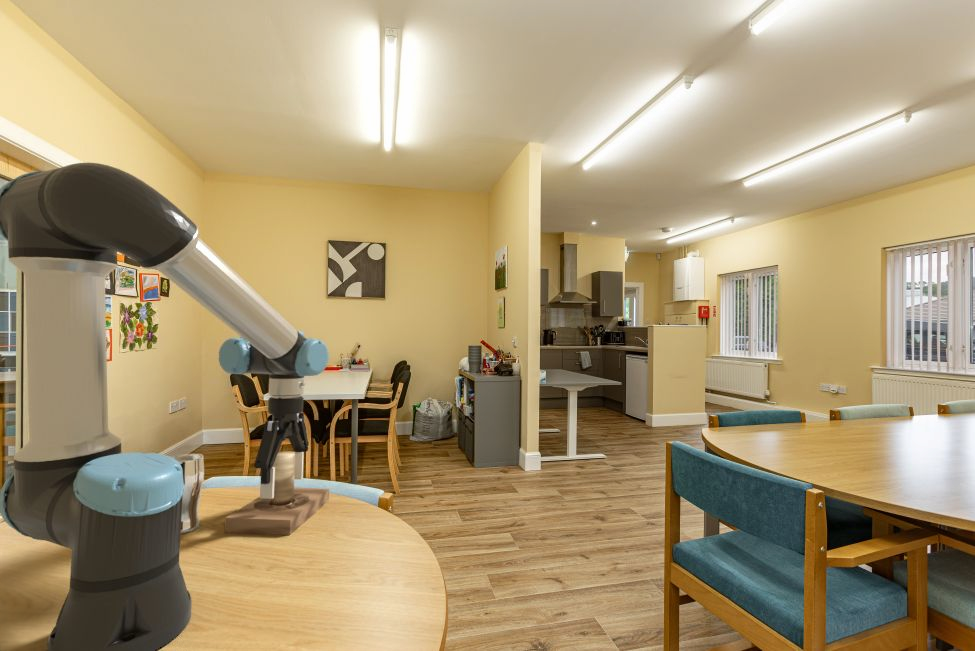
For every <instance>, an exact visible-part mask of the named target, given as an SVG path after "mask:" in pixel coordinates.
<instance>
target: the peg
mask: <svg viewBox="0 0 975 651" xmlns="http://www.w3.org/2000/svg"><path fill="white" fill-rule="evenodd" d="M295 452H296V451H294V450H293V451H291V450H286V451H285V450H284V451H283V450H282V451H279V452H278V454H277V457H276V459H275V462H274V464H273V467H275V482H274V498H272V499H271V501H272V506H286V505H289V504H292V499H293V498H294V488H295V479H294V471H295Z"/></svg>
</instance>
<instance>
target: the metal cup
mask: <svg viewBox="0 0 975 651" xmlns="http://www.w3.org/2000/svg"><path fill="white" fill-rule="evenodd" d="M171 457H172V458H174V459H175V460H177V461H178V462H179V463H180V465H181V467H182V470H183V483H184V492H183V499H182V516H181V535H182V534H185V533H190V532H192V531H194V530H196V529H198V528H200V519H199V505H200V499H201V495H202V490H203V486H204V480H205V478H204V477H205V464H204V463H205V461H204V454H202V453H186V454H179V455H178V454H177V455H174V456H171Z"/></svg>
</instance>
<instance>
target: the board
mask: <svg viewBox="0 0 975 651" xmlns="http://www.w3.org/2000/svg"><path fill="white" fill-rule="evenodd" d="M328 500H329V501H330V488H318V487H317V488H315V487H314V488H312V487H311V488H310V487H294V498H293V499H292V504H289V505H286V506H272V501H271V499H266V498H260V496H258V497H257V498H255V499H254V500H252V501H251V502H248V503H247V504H245V505H244V506H242V507H241V508H239V509H238V510H236V511H234V512H232V513H231V514H230V515H228V516H225V519H224V520H225V522H224V523H225V524H224V533H234V534H237V533H239V534H256V535H257V534H261V535H283V536H290V535H291V534H292V533H294V532H295V531H296V530H297V529H298V528H300V527H301V526H302V525H303V524H304V523H305V522H306V521H308V520H309V519H310V518H311V517H312V516H314V515H315V514H316V513H317V512H318V511H319V510H320V509H322V508H323V507H324V506H325V505H326V504H327V503H328V502H329V501H328ZM327 501H328V502H327ZM326 502H327V503H326ZM325 503H326V504H325ZM324 504H325V505H324ZM323 505H324V506H323ZM317 510H318V511H317ZM316 511H317V512H316ZM315 512H316V513H315Z"/></svg>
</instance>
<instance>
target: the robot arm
mask: <svg viewBox="0 0 975 651" xmlns="http://www.w3.org/2000/svg"><path fill="white" fill-rule="evenodd" d="M0 236H2V238H4V239H5V240H6V241H7V250H8V262H9V263H11V264H12V265H13V266H14V267H16V268H17V269H18V270H20V271H21V272H23V274H24V284H25V285H24V286H25V287H24V290H25V291H24V292H25V293H24V294H25V322H26V323H25V327H26V328H25V329H26V330H25V331H26V363H27V365H26V367H27V400H28V401H27V402H28V405H27V408H28V441H27V443H26V444H25V445H24V446H23V447H22V448H20V449H19V450H18V451H17V452H16V453H15V454H14V455H13V473H12V474H11V475H10V476H9V477H8V478H7V479H5V481H4V484H3V485H2V487H1V489H0V515H1V517H2V519H3V521H4V522H5V523H6V524H7V525H8V526H9V527H10V528H12V529H14V530H15V531H16V532H18V533H19V534H21V535H22V536H25V537H29V538H32V539H33V540H37V541H38V540H39V541H46V542H49V543H52V544H55V545H58V546H62V547H65V548H68V549H71V555H70V557H71V559H70V560H71V561H70V576H69V578H70V579H69V580H70V581H69V589H68V593H67V595H66V597H65V600H64V602H63V604H62V607H61V609H60V612H59V614H58V617H57V619H56V622H55V625H54V627H53V628H52V630H51V632H50V634H49V636H48V639H47V644H46V651H155V650H156V651H158V650H159V649H161V648H163V647H164V646H166V645H167V644H169V643H170V642H172V641H173V640H174V639H175V638H177V637H178V636H179V635H180V634H181V633H182V632H183V631H184V630H185V629H186V627H188V624H189V623H190V620H191V618H192V605H193V604H192V603H193V601H192V596H191V594H190V592H189V590H188V589H187V584H186V582H185V579H184V575H183V572H182V569H181V565H180V554H181V553H180V552H181V551H180V549H181V535H182V534H181V516H182V499H183V492H184V483H183V470H182V467H181V465H180V463H179V462H178V461H177V460H175V459H174V458H172V457H173V456H169V455H166V454H163V453H155V452H146V453H142V452H137V451H136V452H123V453H122V439H121V438H120V437H119V436H117V435H115V434H114V433H113V432H111V431H110V430H109V415H108V414H109V412H108V408H109V407H108V404H109V403H108V402H109V401H108V368H107V367H108V365H107V364H108V362H107V361H108V358H107V354H108V352H107V320H106V319H107V317H106V316H107V313H106V311H107V310H106V309H107V308H106V277H107V276H108V275H109V274H110V273H112V272H113V271H114V270H116V269H117V268H118V253H119V254H121V255H124V256H125V257H128V258H129V259H130V260H132V261H134V262H135V263H136V264H137V265H139V266H140V267H141V268H143V269H145V270H157V271H158V272H159V273H161V274H162V275H163V276H164V277H166V278H167V279H168V280H170V282H172V283H173V284H175V285H176V286H177V287H178V288H179V289H181V290H182V291H183V292H184V293H186V294H187V295H188V296H190V297H191V298H192V299H193V300H195V301H196V302H197V303H199V305H200V306H202V307H203V308H205V309H206V310H207V311H209V312H210V313H211V314H212V315H214V316H215V317H216V318H217V319H218V320H220V321H221V322H222V323H223V324H224V325H225V326H227V327H228V328H230V329H231V330H232V331H234V332H235V333H236V334H237V335H238V336H240V337H232V338H231V337H230V338H227V339H226V340H225V341H224V342H223V343H222V344H221V346H220V348H219V350H218V362H219V366H220V367H221V369H222V370H223V371H224V372H226V373H227V374H231V375H232V374H233V375H244V374H258V375H259V374H261V375H269V379H268V395H269V396H270V397H269V398H268V400H267V401H268V403H267V413H268V414H269V415H273V418H272V420H266V421H264V424H263V425H264V427H263V434H262V436H261V441H260V444H259V447H258V450H257V455H256V459H255V462H254V465H253V466H254V468H255V469H260V488H259V497H260V498H266V499H272V498H274V482H275V467H273V464H274V462H275V459H276V457H277V454H278V452H280V449H281V447H282V443H283V442H284V441H286V439H287V438H288V441H289V443H290V445H291V447H292V449H293V452H295V471H294V480H303V479H304V458H305V457H304V456H305V454H304V453H305V452H308V451H309V445H310V444H309V439H308V434H307V430H306V425H305V414H304V412H303V411H304V397H303V396H302V395H303V394H305V393H304V390H305V389H304V388H305V385H306V382H305V377H314V376H318V375H320V374H321V373H323V371H325V370H326V367H327V365H328V363H329V358H330V357H329V356H330V354H329V349H328V346H327V345H326V343H324V341H323V340H321V339H318V338H312V337H309V338H306V334H305V333H304V332H303V331H301V330H297V329H296V328H295V327H294V326H293V325H292V324H291V323H290V322H288V321H287V319H285V317H283V316H282V315H281V314H280V313H279V312H278V311H277V310H276V309H275V308H274V307H273V306H272V305H271V304H269V303H268V301H266V300H265V299H264V298H263V297H262V296H261V295H260V294H259V293H258V292H257V291H256V290H255V289H254V288H253V287H252V286H251V285H250V284H249V283H248V282H247V281H245V280H244V279H243V278H242V277H241V276H240V275H239V274H238V273H237V272H236V271H235V270H234V269H232V267H231V266H230V265H229V264H228V263H226V261H224V260H223V259H222V258H221V257H220V256H219V255H218V254H217V253H216V252H215V251H214V250H213V249H212V248H211V247H210V246H209V245H207V244H206V242H204V241H203V240H202V239H201V238H200V237H199V227H198V225H197V224H196V223H194V222H193V220H192V219H190V218H189V217H188V216H187V215H186V213H184V212H183V211H182V210H181V209H180V208H178V207H177V205H176V204H174V203H173V202H172V201H171V200H170V199H168V198H167V197H166V196H164V195H163V194H161V192H160V191H158V190H156V189H155V188H154V187H152V186H151V185H149V184H147V183H146V182H145V181H143V180H141V179H140V178H138V177H136V176H135V175H133V174H131V173H129V172H127V171H125V170H122V169H120V168H117V167H114V166H111V165H109V164H103V163H100V162H99V163H98V162H97V163H96V162H77V163H72V164H68V165H64V166H61V167H58V168H53V169H48V170H36V171H31V172H28V173H24V174H21V175H18V176H17V177H15V178H14V179H12V180H10V181H7V182H6V183H5V184H3V185H2V186H1V187H0ZM177 635H178V636H177ZM172 639H173V640H172ZM168 642H169V643H168ZM160 647H161V648H160Z"/></svg>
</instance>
